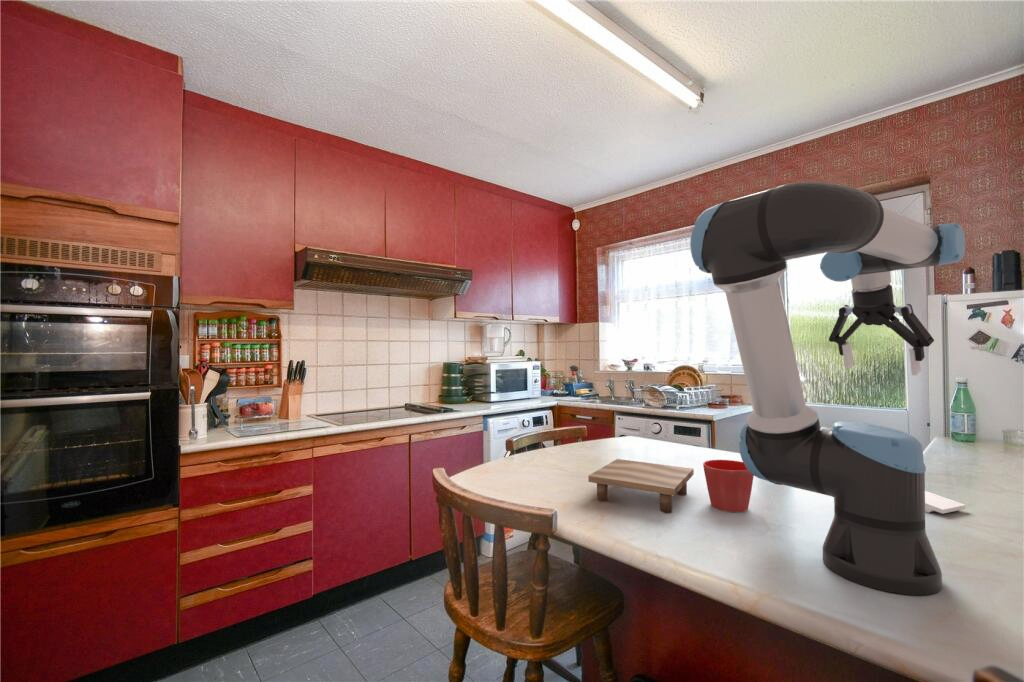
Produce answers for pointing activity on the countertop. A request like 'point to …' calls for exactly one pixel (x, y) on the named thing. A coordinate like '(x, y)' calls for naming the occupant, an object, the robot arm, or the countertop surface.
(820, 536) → the countertop surface
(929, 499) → the wall bracket
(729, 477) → the flower pot
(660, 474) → the walnut stool
